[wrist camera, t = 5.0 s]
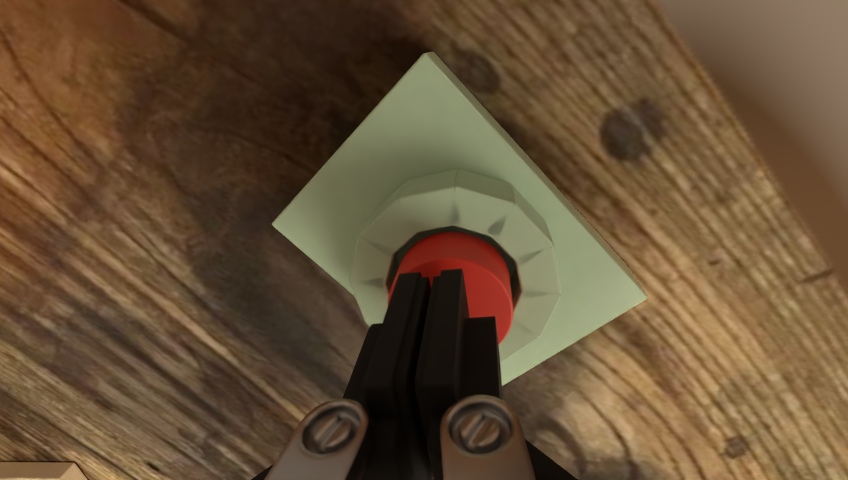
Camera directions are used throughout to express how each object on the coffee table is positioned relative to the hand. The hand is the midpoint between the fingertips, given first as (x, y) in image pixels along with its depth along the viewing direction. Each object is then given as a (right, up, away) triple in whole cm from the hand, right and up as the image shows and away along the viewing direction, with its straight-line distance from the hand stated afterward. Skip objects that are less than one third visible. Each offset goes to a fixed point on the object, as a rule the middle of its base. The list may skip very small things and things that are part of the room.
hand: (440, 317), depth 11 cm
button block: (+1, +2, +5) cm, 6 cm away
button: (+1, +1, +2) cm, 2 cm away
